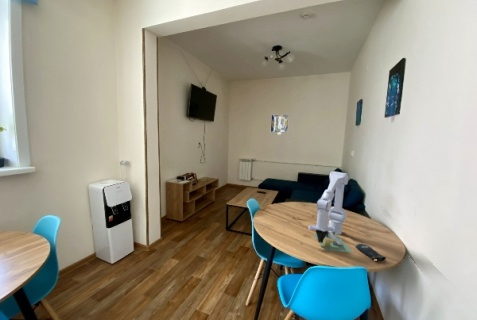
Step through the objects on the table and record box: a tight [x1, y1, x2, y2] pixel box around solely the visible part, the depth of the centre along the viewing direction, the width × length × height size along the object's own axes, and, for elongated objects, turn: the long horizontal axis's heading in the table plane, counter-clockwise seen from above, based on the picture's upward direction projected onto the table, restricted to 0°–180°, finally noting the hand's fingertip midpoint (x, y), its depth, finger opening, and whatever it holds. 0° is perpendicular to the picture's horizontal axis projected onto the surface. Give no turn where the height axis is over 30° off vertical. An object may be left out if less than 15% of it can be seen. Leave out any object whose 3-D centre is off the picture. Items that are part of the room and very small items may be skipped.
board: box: [313, 231, 354, 253], centre depth 122 cm, size 20×16×5 cm
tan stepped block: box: [323, 238, 336, 248], centre depth 117 cm, size 3×6×4 cm, turn 88°
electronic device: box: [354, 243, 387, 262], centre depth 113 cm, size 9×6×15 cm
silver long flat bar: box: [328, 232, 342, 245], centre depth 122 cm, size 14×2×1 cm, turn 178°
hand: (320, 242), depth 117 cm, fingers closed
